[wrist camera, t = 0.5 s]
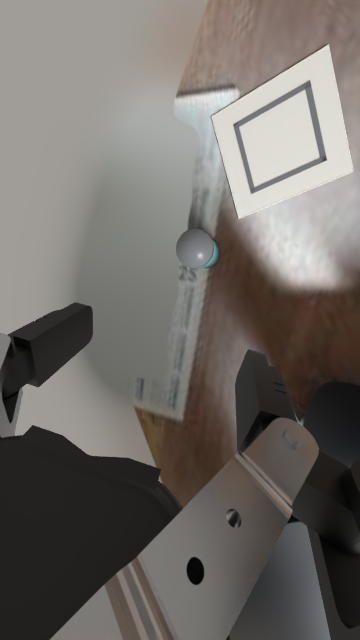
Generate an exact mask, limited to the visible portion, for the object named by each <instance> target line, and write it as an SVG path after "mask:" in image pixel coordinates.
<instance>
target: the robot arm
mask: <svg viewBox="0 0 360 640" xmlns="http://www.w3.org/2000/svg"><path fill="white" fill-rule="evenodd" d="M92 335H93V312H92V308H91V307H90V306H87V305H84V304H80V303H73V304H71V305H69V306H68V307H65V308H64V309H61V310H57V311H53V312H51V313H49V314H47V315H45V316H43V318H39V319H37V320H36V321H35V322H34V321H33V322H31V323H29V324H27V325H25V326H23V327H22V328H20V329H18V330H16V331H14V332H12V333H10V334H8V335H6V334H2V333H0V640H231V638H230V636H229V633H230V631H231V629H232V627H233V625H234V623H235V621H236V619H237V617H238V615H239V613H240V612H241V609H242V608H243V606H244V604H245V602H246V600H247V598H248V596H249V594H250V592H251V590H252V589H253V587H254V585H255V583H256V581H257V579H258V577H259V575H260V573H261V571H262V570H263V568H264V566H265V564H266V562H267V560H268V558H269V556H270V554H271V552H272V550H273V548H274V547H275V545H276V543H277V541H278V539H279V537H280V535H281V533H282V531H283V529H284V527H285V526H286V524H287V522H288V520H289V518H290V516H291V515H293V516H294V517H296V518H297V519H298V520H300V521H301V522H302V523H304V524H306V525H307V528H308V532H309V537H310V542H311V547H312V551H313V556H314V561H315V566H316V570H317V575H318V580H319V585H320V590H321V594H322V599H323V604H324V608H325V613H326V618H327V623H328V628H329V632H330V637H331V640H360V460H356V461H354V462H353V463H352V464H351V465H350V466H349V467H347V466H345V465H344V464H342V463H341V462H339V461H337V460H335V459H334V458H332V457H330V456H328V455H326V454H325V453H323V452H322V451H320V450H319V449H318V446H317V443H316V441H315V440H314V438H313V436H312V435H311V434H310V433H309V432H308V431H307V430H306V429H305V428H304V427H303V426H302V425H300V424H299V423H297V420H296V417H295V414H294V411H293V408H292V405H291V402H290V399H289V396H288V395H287V390H286V387H284V386H285V384H284V381H283V378H282V376H281V375H280V373H279V372H278V371H277V370H276V369H275V367H272V366H269V365H268V361H267V357H266V354H264V353H261V352H257V351H253V350H248V351H247V353H246V355H245V357H244V360H243V362H242V365H241V367H240V370H239V372H238V375H237V378H236V383H235V396H236V423H237V451H238V453H237V454H236V455H235V456H234V457H233V458H232V459H231V460H230V461H229V462H228V463H227V464H226V465H225V466H224V467H223V468H222V469H221V470H220V471H219V472H218V473H217V474H216V475H215V477H214V478H213V479H212V480H211V481H210V482H209V483H208V484H207V485H206V486H205V487H204V488H203V489H202V490H201V491H200V492H199V493H198V494H197V495H196V496H195V497H194V498H193V499H192V500H191V501H190V502H189V503H188V504H187V505H186V506H185V507H184V508H182V506H181V505H180V503H179V501H178V500H177V499H176V497H175V496H174V495H173V494H172V492H171V491H170V490H169V489H168V488H167V487H166V486H164V485H163V484H162V483H160V482H159V481H158V479H159V475H160V471H161V469H159V468H156V467H153V466H150V465H147V464H144V463H141V462H138V461H135V460H132V459H130V458H118V457H98V456H90V455H88V454H86V453H85V452H83V451H82V450H81V449H79V448H78V447H77V446H76V445H74V444H73V443H72V442H70V441H69V440H68V439H67V438H65V437H64V436H63V435H60V434H57V433H54V432H51V431H48V430H45V429H42V428H40V427H37V426H34V425H33V426H32V427H31V428H30V429H29V430H28V431H27V432H26V433H25V434H24V435H23V436H22V435H20V436H15V428H16V423H17V418H18V413H19V409H20V404H21V399H22V395H23V390H22V387H23V386H24V385H25V384H30V385H33V386H36V387H39V386H41V385H42V384H43V383H44V382H45V381H46V380H47V379H49V378H50V377H51V376H52V375H53V374H54V373H55V372H57V371H58V370H59V369H60V368H61V367H62V366H63V365H65V364H66V363H67V362H68V361H69V360H70V359H71V358H72V357H74V356H75V355H76V354H77V353H78V352H79V351H80V350H82V349H83V348H84V347H85V346H86V345H87V344H88V343H89V342H90V340H91V338H92Z"/></svg>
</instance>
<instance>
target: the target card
mask: <svg viewBox="0 0 360 640" xmlns="http://www.w3.org/2000/svg"><path fill="white" fill-rule="evenodd" d="M211 117H212V121H213V125H214V129H215V132H216V136H217V140H218V144H219V147H220V151H221V155H222V159H223V162H224V166H225V170H226V174H227V177H228V181H229V185H230V189H231V192H232V196H233V200H234V203H235V207H236V211H237V215H238V218H239V219H241V218H243V217H245V216H248V215H250V214H253V213H255V212H257V211H260V210H262V209H265V208H267V207H270V206H272V205H274V204H277V203H279V202H282V201H284V200H287V199H289V198H291V197H294V196H296V195H299V194H301V193H303V192H306V191H308V190H311V189H313V188H316V187H318V186H320V185H323V184H325V183H328V182H330V181H333V180H335V179H337V178H340V177H342V176H345V175H347V174H349V173H352V172H353V171H354V170H353V165H352V160H351V155H350V150H349V145H348V140H347V135H346V130H345V125H344V120H343V115H342V110H341V104H340V99H339V94H338V89H337V84H336V79H335V74H334V69H333V64H332V59H331V54H330V49H329V44H328V45H327V46H325V47H324V48H322V49H320V50H319V51H317V52H315V53H314V54H312V55H311V56H309V57H307V58H306V59H304V60H302V61H301V62H299V63H298V64H296V65H294V66H293V67H291V68H289V69H288V70H286V71H285V72H283V73H281V74H280V75H278V76H276V77H275V78H273V79H272V80H270V81H268V82H267V83H265V84H263V85H262V86H260V87H259V88H257V89H255V90H254V91H252V92H250V93H249V94H247V95H245V96H244V97H242V98H241V99H239V100H237V101H236V102H234V103H232V104H231V105H229V106H228V107H226V108H224V109H223V110H221V111H219V112H218V113H216V114H215V115H213V116H211Z"/></svg>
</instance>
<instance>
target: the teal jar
mask: <svg viewBox="0 0 360 640" xmlns="http://www.w3.org/2000/svg"><path fill="white" fill-rule="evenodd" d="M176 253H177V256H178V258H179V260H180V262H181V263H182V264H184V265H185V266H187V267H191V268H209V267H212V266H213V265H215V264H216V263H217V261H218V259H219V257H220V249H219V246H218V245H217V243H216V242H215V241H213V240H212V239H211V238H210V236H209V235H208V234H207V233H206V232H204V231H203V230H200V229H190V230H188V231H186V232H184V233H183V234H182V235H181V236H180V238H179V240H178V242H177V246H176Z"/></svg>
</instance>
